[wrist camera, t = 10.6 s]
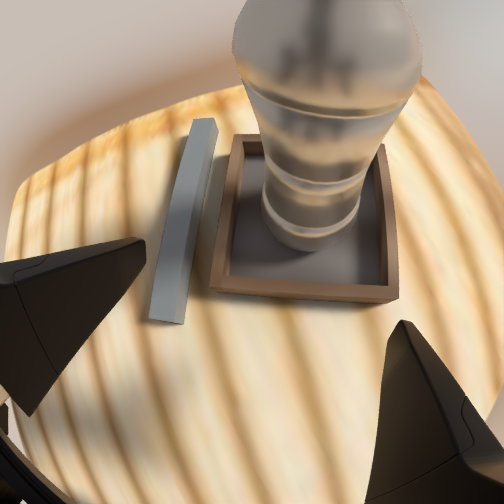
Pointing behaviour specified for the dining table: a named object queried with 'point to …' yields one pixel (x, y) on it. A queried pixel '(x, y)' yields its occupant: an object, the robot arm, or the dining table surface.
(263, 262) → the brown square tray
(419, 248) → the dining table surface
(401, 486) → the robot arm
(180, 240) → the door edge strip
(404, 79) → the plastic bottle
